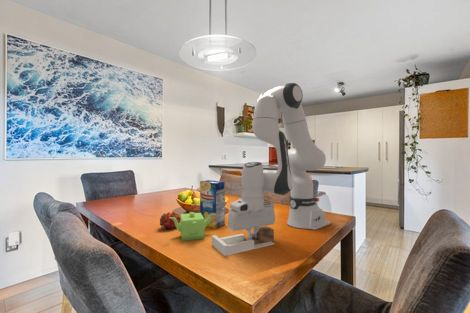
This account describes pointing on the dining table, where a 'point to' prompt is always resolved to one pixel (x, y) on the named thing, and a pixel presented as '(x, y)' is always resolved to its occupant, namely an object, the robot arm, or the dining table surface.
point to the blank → (263, 235)
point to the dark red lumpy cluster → (169, 220)
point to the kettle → (191, 226)
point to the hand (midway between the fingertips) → (252, 238)
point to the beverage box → (213, 202)
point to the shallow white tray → (235, 244)
